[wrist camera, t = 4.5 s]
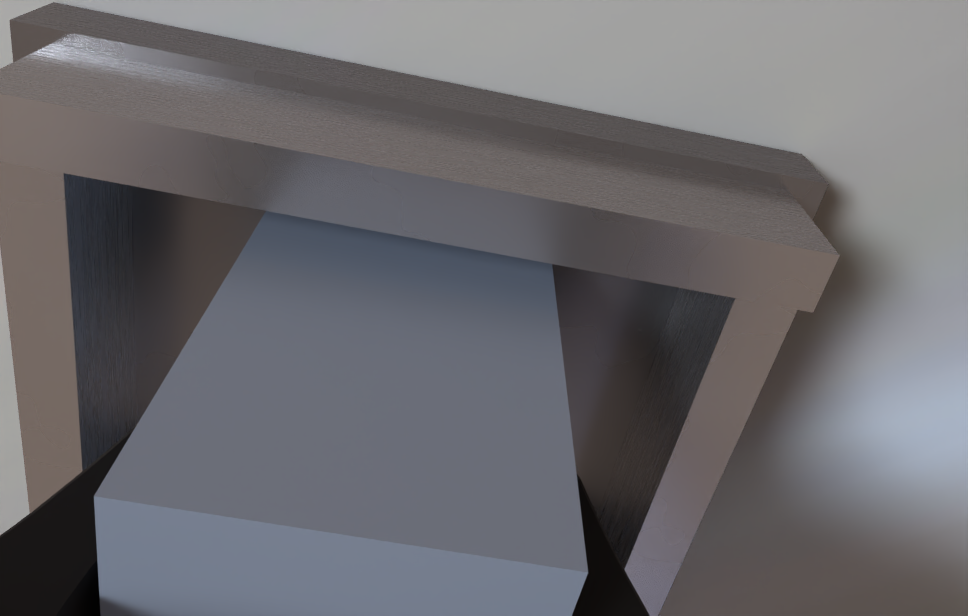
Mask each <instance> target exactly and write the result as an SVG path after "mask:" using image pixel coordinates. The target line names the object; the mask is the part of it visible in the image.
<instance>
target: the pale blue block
mask: <svg viewBox="0 0 968 616" xmlns="http://www.w3.org/2000/svg"><path fill="white" fill-rule="evenodd" d="M94 508H95V526H96V544H97V561H98V579H99V597H100V615H101V616H572V614H573V611H574V609H575V606H576V603H577V601H578V598H579V595H580V593H581V590H582V587H583V585H584V582H585V579H586V577H587V574H588V567H587V559H586V550H585V542H584V533H583V525H582V516H581V507H580V499H579V490H578V482H577V473H576V465H575V456H574V448H573V439H572V430H571V422H570V413H569V405H568V396H567V388H566V379H565V371H564V362H563V353H562V345H561V336H560V328H559V319H558V311H557V302H556V293H555V285H554V276H553V268H552V264H549V263H544V262H538V261H533V260H528V259H522V258H517V257H512V256H506V255H501V254H495V253H490V252H485V251H479V250H474V249H469V248H463V247H458V246H452V245H447V244H442V243H436V242H431V241H426V240H420V239H415V238H409V237H404V236H399V235H393V234H388V233H383V232H377V231H372V230H367V229H361V228H356V227H350V226H345V225H340V224H334V223H329V222H324V221H318V220H313V219H307V218H302V217H297V216H291V215H286V214H281V213H275V212H270V211H266V212H265V214H264V215H263V217H262V219H261V220H260V222H259V223H258V225H257V227H256V228H255V230H254V232H253V233H252V235H251V237H250V238H249V240H248V242H247V243H246V245H245V247H244V248H243V250H242V252H241V253H240V255H239V257H238V258H237V260H236V262H235V263H234V265H233V267H232V268H231V270H230V272H229V273H228V275H227V276H226V278H225V280H224V281H223V283H222V285H221V286H220V288H219V290H218V291H217V293H216V295H215V296H214V298H213V300H212V301H211V303H210V305H209V306H208V308H207V310H206V311H205V313H204V315H203V316H202V318H201V320H200V321H199V323H198V325H197V326H196V328H195V329H194V331H193V333H192V334H191V336H190V338H189V339H188V341H187V343H186V344H185V346H184V348H183V349H182V351H181V353H180V354H179V356H178V358H177V359H176V361H175V363H174V364H173V366H172V368H171V369H170V371H169V373H168V374H167V376H166V378H165V379H164V381H163V383H162V384H161V386H160V387H159V389H158V391H157V392H156V394H155V396H154V397H153V399H152V401H151V402H150V404H149V406H148V407H147V409H146V411H145V412H144V414H143V416H142V417H141V419H140V421H139V422H138V424H137V426H136V427H135V429H134V431H133V432H132V434H131V436H130V437H129V439H128V440H127V442H126V444H125V445H124V447H123V449H122V450H121V452H120V454H119V455H118V457H117V459H116V460H115V462H114V464H113V465H112V467H111V469H110V470H109V472H108V474H107V475H106V477H105V479H104V480H103V482H102V484H101V485H100V487H99V489H98V490H97V492H96V493H95V495H94Z"/></svg>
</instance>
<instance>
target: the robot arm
mask: <svg viewBox="0 0 968 616" xmlns="http://www.w3.org/2000/svg"><path fill="white" fill-rule="evenodd" d="M136 426H137V425H136ZM136 426H135V427H136ZM135 427H133V428H132V429H131V430H130V431H129V432H128V433H127V434H125V435H124V436H123V437H122V438H121V439H120V440H119V441H117V442H116V443H115V444H114V445H113V446H112V447H111V448H109V449H108V450H107V451H106V452H105V453H104V454H102V455H101V456H100V457H99V458H98V459H96V460H95V461H94V462H93V463H92V464H90V465H89V466H88V467H87V468H86V469H85V470H83V471H82V472H81V473H80V474H79V475H77V476H76V477H75V478H74V479H72V480H71V481H70V482H69V483H67V484H66V485H65V486H64V487H62V488H61V489H60V490H59V491H57V492H56V493H55V494H54V495H52V496H51V497H50V498H49V499H47V500H46V501H45V502H44V503H42V504H41V505H40V506H39V507H37V508H36V509H35V510H34V511H32V512H31V513H30V514H29V515H27V516H26V517H25V518H23V519H22V520H21V521H19V522H18V523H17V524H16V525H14V526H13V527H11V528H10V529H9V530H7V531H6V532H5V533H3V534H2V535H0V616H101V615H100V597H99V579H98V561H97V544H96V526H95V508H94V495H95V493H96V492H97V490H98V489H99V487H100V485H101V484H102V482H103V480H104V479H105V477H106V475H107V474H108V472H109V470H110V469H111V467H112V465H113V464H114V462H115V460H116V459H117V457H118V455H119V454H120V452H121V450H122V449H123V447H124V445H125V444H126V442H127V440H128V439H129V437H130V436H131V434H132V432H133V431H134V429H135ZM577 482H578V490H579V499H580V507H581V516H582V525H583V533H584V542H585V550H586V559H587V567H588V574H587V577H586V579H585V582H584V585H583V587H582V590H581V593H580V595H579V598H578V601H577V603H576V606H575V609H574V611H573V614H572V616H650V615H649V613H648V611H647V610H646V608H645V606H644V604H643V602H642V601H641V599H640V597H639V595H638V593H637V592H636V590H635V588H634V586H633V584H632V583H631V581H630V579H629V577H628V575H627V573H626V572H625V570H624V568H623V566H622V564H621V562H620V560H619V558H618V556H617V554H616V552H615V550H614V548H613V546H612V544H611V542H610V540H609V538H608V536H607V534H606V532H605V530H604V528H603V526H602V524H601V522H600V520H599V518H598V516H597V513H596V511H595V509H594V507H593V505H592V503H591V501H590V498H589V496H588V494H587V492H586V490H585V487H584V485H583V483H582V481H581V479H580V477H579V476H578V475H577Z"/></svg>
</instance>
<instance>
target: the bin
mask: <svg viewBox="0 0 968 616" xmlns="http://www.w3.org/2000/svg"><path fill="white" fill-rule="evenodd" d="M10 30H11V41H12V52H13V63H11V64H9V65H7V66H5V67H3V68H1V69H0V247H1V256H2V265H3V275H4V284H5V293H6V302H7V311H8V320H9V329H10V338H11V347H12V356H13V365H14V374H15V383H16V392H17V401H18V410H19V419H20V428H21V437H22V446H23V455H24V464H25V473H26V482H27V491H28V500H29V509H30V513H31V512H32V511H34V510H35V509H36V508H37V507H39V506H40V505H41V504H42V503H44V502H45V501H46V500H47V499H49V498H50V497H51V496H52V495H54V494H55V493H56V492H57V491H59V490H60V489H61V488H62V487H64V486H65V485H66V484H67V483H69V482H70V481H71V480H72V479H74V478H75V477H76V476H77V475H79V474H80V473H81V472H82V471H83V470H85V469H86V468H87V467H88V466H89V465H90V464H92V463H93V462H94V461H95V460H96V459H98V458H99V457H100V456H101V455H102V454H104V453H105V452H106V451H107V450H108V449H109V448H111V447H112V446H113V445H114V444H115V443H116V442H117V441H119V440H120V439H121V438H122V437H123V436H124V435H125V434H127V433H128V432H129V431H130V430H131V429H132V428H133V427H135V426H136V425H137V424H138V422H139V421H140V419H141V417H142V416H143V414H144V412H145V411H146V409H147V407H148V406H149V404H150V402H151V401H152V399H153V397H154V396H155V394H156V392H157V391H158V389H159V387H160V386H161V384H162V383H163V381H164V379H165V378H166V376H167V374H168V373H169V371H170V369H171V368H172V366H173V364H174V363H175V361H176V359H177V358H178V356H179V354H180V353H181V351H182V349H183V348H184V346H185V344H186V343H187V341H188V339H189V338H190V336H191V334H192V333H193V331H194V329H195V328H196V326H197V325H198V323H199V321H200V320H201V318H202V316H203V315H204V313H205V311H206V310H207V308H208V306H209V305H210V303H211V301H212V300H213V298H214V296H215V295H216V293H217V291H218V290H219V288H220V286H221V285H222V283H223V281H224V280H225V278H226V276H227V275H228V273H229V272H230V270H231V268H232V267H233V265H234V263H235V262H236V260H237V258H238V257H239V255H240V253H241V252H242V250H243V248H244V247H245V245H246V243H247V242H248V240H249V238H250V237H251V235H252V233H253V232H254V230H255V228H256V227H257V225H258V223H259V222H260V220H261V219H262V217H263V215H264V214H265V212H266V211H270V212H275V213H281V214H286V215H291V216H297V217H302V218H307V219H313V220H318V221H324V222H329V223H334V224H340V225H345V226H350V227H356V228H361V229H367V230H372V231H377V232H383V233H388V234H393V235H399V236H404V237H409V238H415V239H420V240H426V241H431V242H436V243H442V244H447V245H452V246H458V247H463V248H469V249H474V250H479V251H485V252H490V253H495V254H501V255H506V256H512V257H517V258H522V259H528V260H533V261H538V262H544V263H549V264H552V268H553V276H554V285H555V293H556V302H557V311H558V319H559V328H560V336H561V345H562V353H563V362H564V371H565V379H566V388H567V396H568V405H569V413H570V422H571V430H572V439H573V448H574V456H575V465H576V473H577V475H578V476H579V477H580V479H581V481H582V483H583V485H584V487H585V490H586V492H587V494H588V496H589V498H590V501H591V503H592V505H593V507H594V509H595V511H596V513H597V516H598V518H599V520H600V522H601V524H602V526H603V528H604V530H605V532H606V534H607V536H608V538H609V540H610V542H611V544H612V546H613V548H614V550H615V552H616V554H617V556H618V558H619V560H620V562H621V564H622V566H623V568H624V570H625V572H626V573H627V575H628V577H629V579H630V581H631V583H632V584H633V586H634V588H635V590H636V592H637V593H638V595H639V597H640V599H641V601H642V602H643V604H644V606H645V608H646V610H647V611H648V613H649V615H650V616H658V615H659V612H660V610H661V608H662V606H663V604H664V602H665V599H666V597H667V595H668V593H669V591H670V588H671V586H672V584H673V582H674V580H675V577H676V575H677V573H678V571H679V569H680V567H681V564H682V562H683V560H684V558H685V556H686V553H687V551H688V549H689V547H690V545H691V542H692V540H693V538H694V536H695V534H696V531H697V529H698V527H699V525H700V523H701V521H702V518H703V516H704V514H705V512H706V510H707V507H708V505H709V503H710V501H711V499H712V496H713V494H714V492H715V490H716V488H717V486H718V483H719V481H720V479H721V477H722V475H723V472H724V470H725V468H726V466H727V464H728V461H729V459H730V457H731V455H732V453H733V450H734V448H735V446H736V444H737V442H738V440H739V437H740V435H741V433H742V431H743V429H744V426H745V424H746V422H747V420H748V418H749V415H750V413H751V411H752V409H753V407H754V404H755V402H756V400H757V398H758V396H759V394H760V391H761V389H762V387H763V385H764V383H765V380H766V378H767V376H768V374H769V372H770V369H771V367H772V365H773V363H774V361H775V359H776V356H777V354H778V352H779V350H780V348H781V345H782V343H783V341H784V339H785V337H786V334H787V332H788V330H789V328H790V326H791V323H792V321H793V319H794V317H795V315H796V313H797V310H802V311H807V312H812V313H813V312H814V310H815V308H816V306H817V303H818V301H819V299H820V297H821V295H822V293H823V291H824V289H825V286H826V284H827V282H828V280H829V278H830V276H831V274H832V271H833V269H834V267H835V265H836V263H837V261H838V259H839V257H840V255H839V254H838V253H837V251H836V250H835V249H834V247H833V246H832V245H831V244H830V242H829V241H828V240H827V239H826V237H825V236H824V235H823V233H822V232H821V231H820V230H819V228H818V227H817V226H816V224H815V223H814V222H813V219H814V217H815V214H816V212H817V210H818V208H819V205H820V203H821V201H822V198H823V196H824V194H825V192H826V189H827V187H828V185H829V184H828V183H827V182H826V181H825V179H824V178H823V177H822V176H821V175H820V174H819V173H818V172H817V171H816V170H815V168H814V167H813V166H812V165H811V164H810V163H809V162H808V161H807V160H806V159H805V157H804V156H803V155H802V154H798V153H794V152H789V151H784V150H779V149H774V148H769V147H764V146H759V145H754V144H749V143H744V142H739V141H734V140H730V139H725V138H720V137H715V136H710V135H705V134H700V133H695V132H690V131H685V130H680V129H675V128H670V127H665V126H661V125H656V124H651V123H646V122H641V121H636V120H631V119H626V118H621V117H616V116H611V115H606V114H601V113H597V112H592V111H587V110H582V109H577V108H572V107H567V106H562V105H557V104H552V103H547V102H542V101H537V100H532V99H528V98H523V97H518V96H513V95H508V94H503V93H498V92H493V91H488V90H483V89H478V88H473V87H468V86H464V85H459V84H454V83H449V82H444V81H439V80H434V79H429V78H424V77H419V76H414V75H409V74H404V73H399V72H395V71H390V70H385V69H380V68H375V67H370V66H365V65H360V64H355V63H350V62H345V61H340V60H335V59H330V58H326V57H321V56H316V55H311V54H306V53H301V52H296V51H291V50H286V49H281V48H276V47H271V46H266V45H262V44H257V43H252V42H247V41H242V40H237V39H232V38H227V37H222V36H217V35H212V34H207V33H202V32H197V31H193V30H188V29H183V28H178V27H173V26H168V25H163V24H158V23H153V22H148V21H143V20H138V19H133V18H129V17H124V16H119V15H114V14H109V13H104V12H99V11H94V10H89V9H84V8H79V7H74V6H69V5H64V4H60V3H55V2H53V3H51V4H48V5H46V6H43V7H41V8H38V9H36V10H33V11H31V12H28V13H26V14H23V15H21V16H18V17H16V18H13V19H11V20H10Z"/></svg>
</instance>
